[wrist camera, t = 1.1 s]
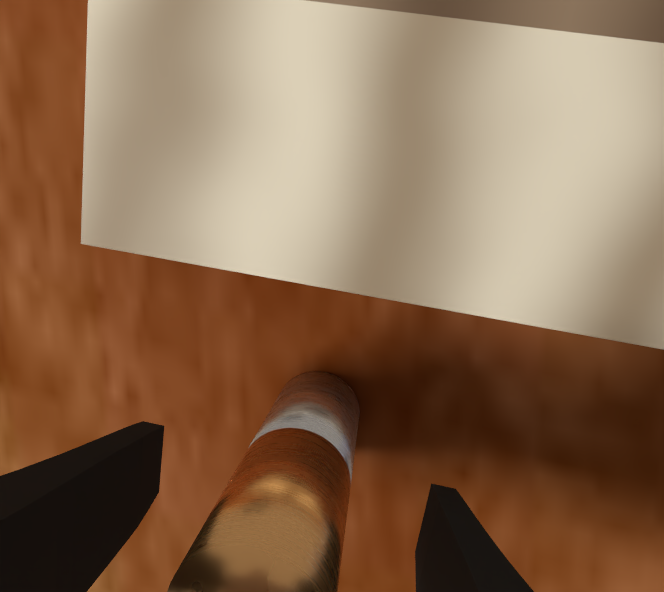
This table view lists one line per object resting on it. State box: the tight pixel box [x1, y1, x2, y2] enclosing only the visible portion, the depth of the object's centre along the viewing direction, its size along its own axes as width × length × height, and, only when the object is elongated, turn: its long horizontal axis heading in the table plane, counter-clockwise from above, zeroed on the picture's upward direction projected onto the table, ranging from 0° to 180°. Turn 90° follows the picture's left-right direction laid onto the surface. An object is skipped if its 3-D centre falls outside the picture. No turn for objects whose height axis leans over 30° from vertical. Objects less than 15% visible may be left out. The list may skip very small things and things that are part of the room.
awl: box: [167, 371, 360, 592], centre depth 11 cm, size 3×3×8 cm
